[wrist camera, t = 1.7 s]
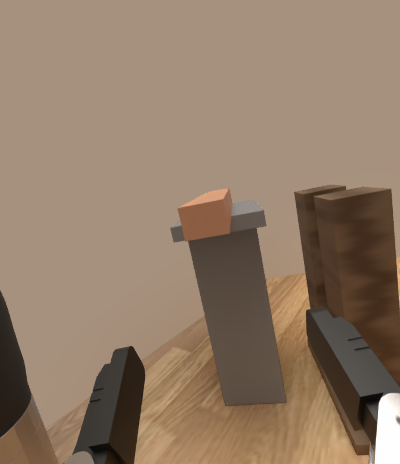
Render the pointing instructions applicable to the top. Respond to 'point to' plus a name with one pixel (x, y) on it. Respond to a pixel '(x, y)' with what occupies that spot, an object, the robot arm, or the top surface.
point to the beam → (207, 215)
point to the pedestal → (238, 308)
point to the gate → (353, 272)
